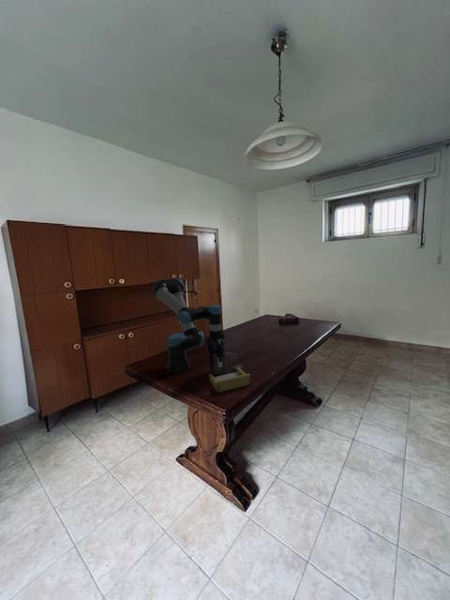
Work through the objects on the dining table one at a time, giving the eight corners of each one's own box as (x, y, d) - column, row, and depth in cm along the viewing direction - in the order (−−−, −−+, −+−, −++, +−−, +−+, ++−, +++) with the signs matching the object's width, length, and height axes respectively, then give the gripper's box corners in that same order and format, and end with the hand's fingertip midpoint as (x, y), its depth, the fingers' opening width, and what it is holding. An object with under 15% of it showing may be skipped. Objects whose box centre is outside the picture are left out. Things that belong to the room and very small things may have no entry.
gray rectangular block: (236, 373, 157) (236, 368, 157) (232, 371, 161) (232, 366, 160) (243, 370, 161) (243, 366, 160) (240, 368, 164) (239, 364, 164)
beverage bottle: (204, 373, 158) (202, 336, 154) (220, 367, 167) (218, 331, 163) (214, 379, 151) (212, 339, 147) (230, 371, 159) (229, 334, 155)
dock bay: (217, 392, 135) (217, 382, 134) (209, 380, 150) (208, 370, 149) (250, 384, 142) (250, 374, 141) (239, 373, 157) (239, 364, 156)
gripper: (227, 333, 145) (229, 369, 149) (215, 324, 166) (217, 356, 170) (215, 335, 143) (217, 371, 146) (204, 326, 164) (206, 358, 167)
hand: (217, 363), depth 158 cm, fingers closed on beverage bottle, 10 cm apart
